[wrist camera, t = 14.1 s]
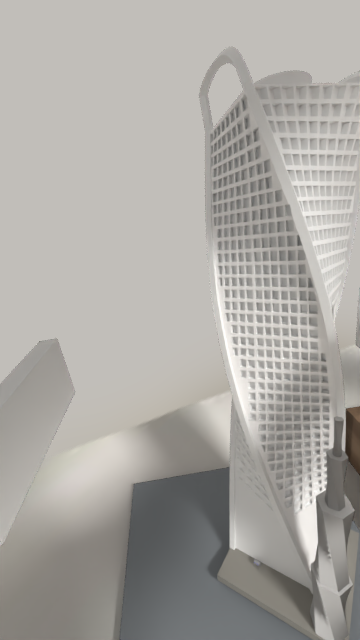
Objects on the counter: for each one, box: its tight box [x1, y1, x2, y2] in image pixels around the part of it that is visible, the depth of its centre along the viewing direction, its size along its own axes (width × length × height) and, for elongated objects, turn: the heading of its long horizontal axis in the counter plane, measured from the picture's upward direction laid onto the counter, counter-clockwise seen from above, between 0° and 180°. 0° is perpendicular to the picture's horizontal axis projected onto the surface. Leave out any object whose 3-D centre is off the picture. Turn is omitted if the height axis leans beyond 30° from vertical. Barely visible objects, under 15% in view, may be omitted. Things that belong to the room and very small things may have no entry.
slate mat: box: [120, 467, 360, 640], centre depth 20 cm, size 16×14×1 cm
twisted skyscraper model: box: [199, 47, 360, 640], centre depth 16 cm, size 8×8×28 cm
